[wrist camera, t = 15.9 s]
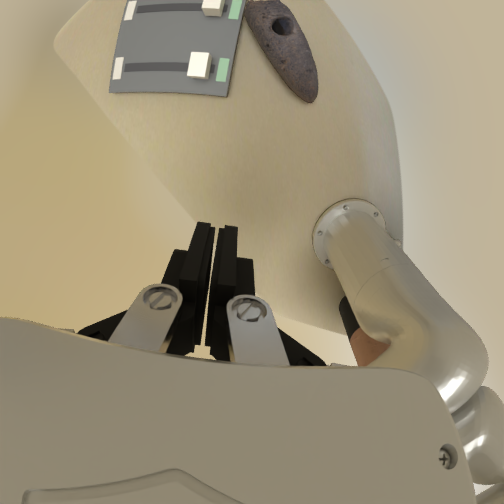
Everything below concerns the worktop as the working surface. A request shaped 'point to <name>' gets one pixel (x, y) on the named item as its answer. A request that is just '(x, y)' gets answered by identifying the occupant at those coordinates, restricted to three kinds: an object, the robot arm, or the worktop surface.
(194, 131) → the worktop surface
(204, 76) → the block
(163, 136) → the worktop surface
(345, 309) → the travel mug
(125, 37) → the slider switch panel
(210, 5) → the block
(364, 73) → the worktop surface
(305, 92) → the perforated stone tool
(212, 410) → the robot arm
